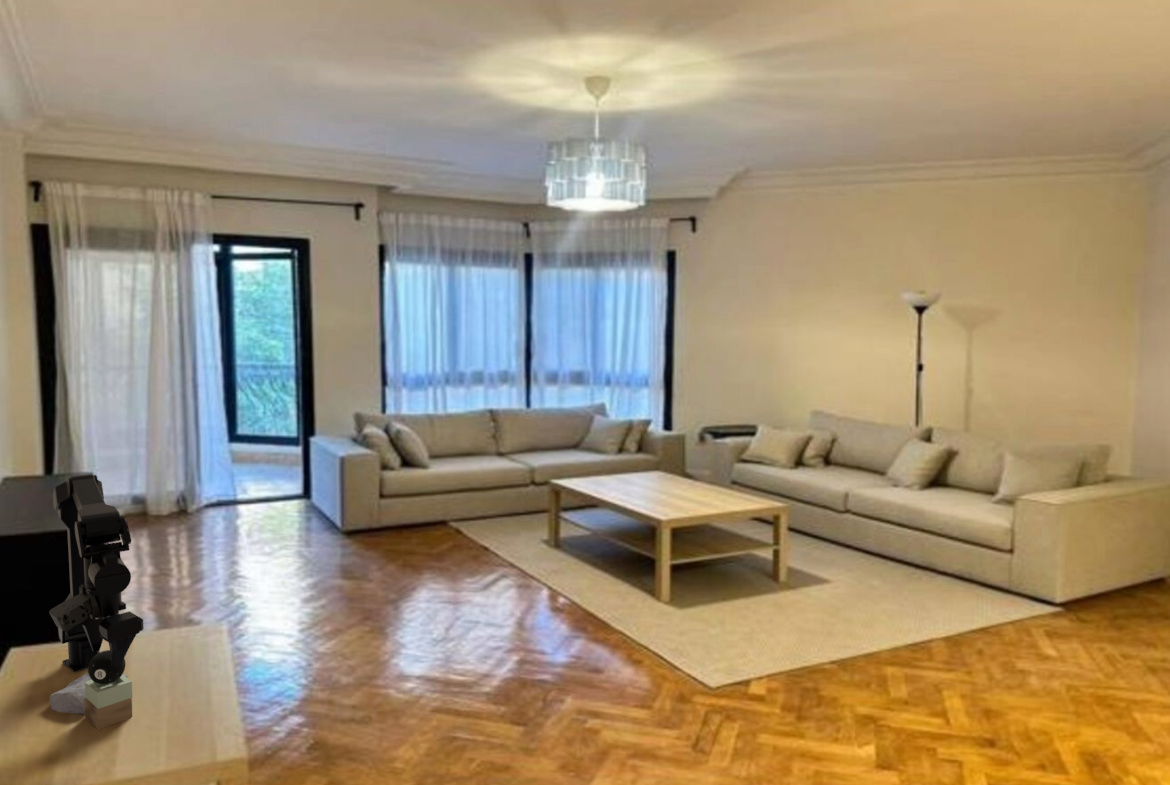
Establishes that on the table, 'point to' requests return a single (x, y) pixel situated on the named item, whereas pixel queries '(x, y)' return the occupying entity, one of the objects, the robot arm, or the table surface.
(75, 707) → the stone block
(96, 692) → the tower cap
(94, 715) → the tower base
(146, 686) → the table surface
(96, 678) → the billiard ball
